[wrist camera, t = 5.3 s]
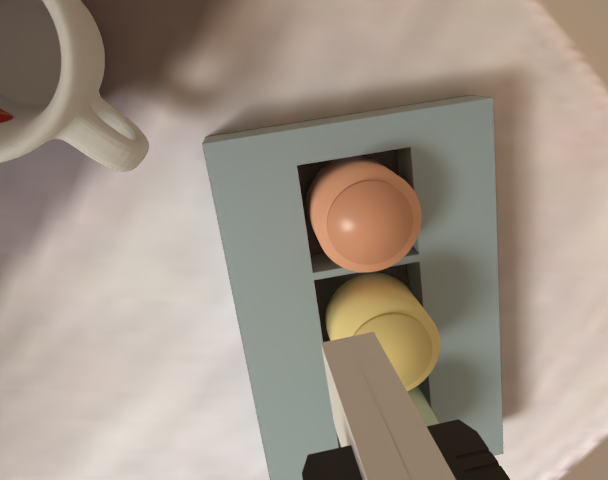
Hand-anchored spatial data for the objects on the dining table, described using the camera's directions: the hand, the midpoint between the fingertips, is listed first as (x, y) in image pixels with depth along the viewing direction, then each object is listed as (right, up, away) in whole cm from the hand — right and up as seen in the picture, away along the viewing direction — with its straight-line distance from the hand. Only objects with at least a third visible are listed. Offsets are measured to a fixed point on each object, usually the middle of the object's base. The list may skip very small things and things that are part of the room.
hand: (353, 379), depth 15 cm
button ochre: (+2, 0, +14) cm, 14 cm away
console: (+2, +1, +16) cm, 16 cm away
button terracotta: (+1, +6, +14) cm, 15 cm away
